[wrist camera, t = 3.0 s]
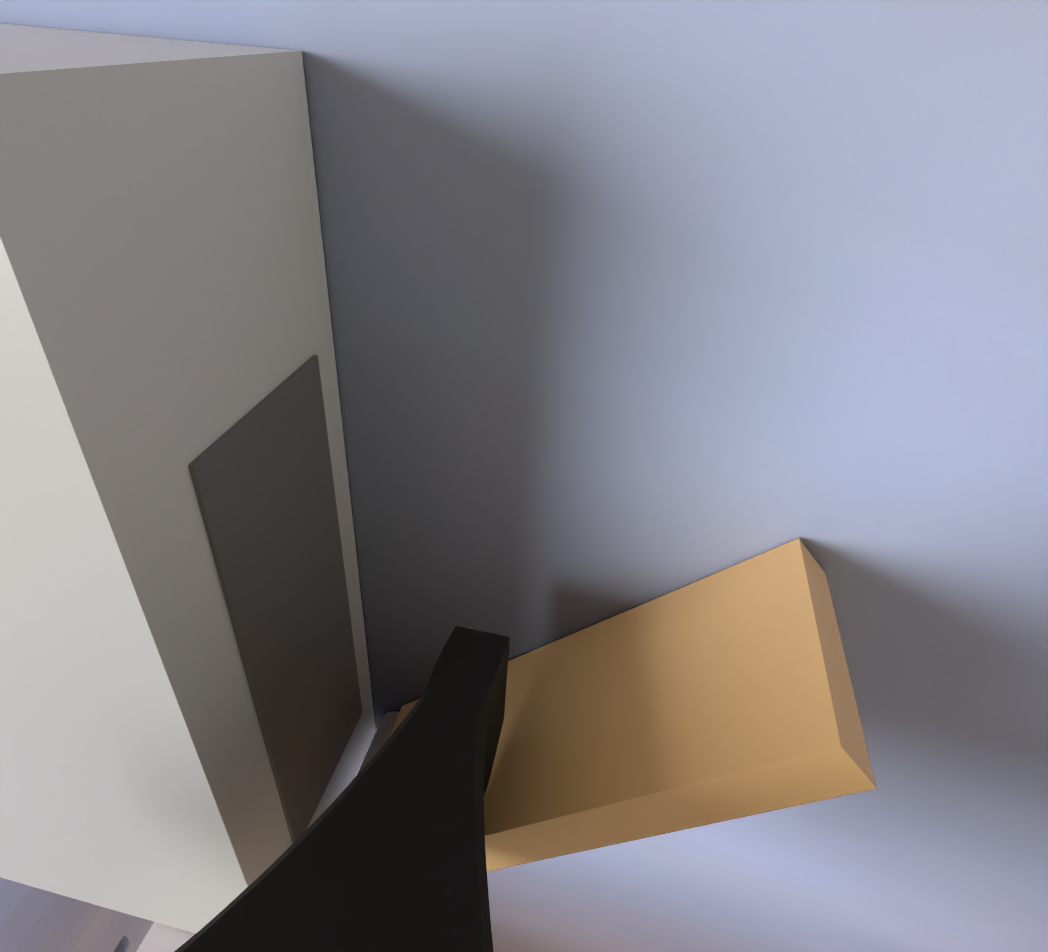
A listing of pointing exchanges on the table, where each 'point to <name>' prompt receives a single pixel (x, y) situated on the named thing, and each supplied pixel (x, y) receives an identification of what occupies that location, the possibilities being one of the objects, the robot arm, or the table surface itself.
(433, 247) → the table surface
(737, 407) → the table surface
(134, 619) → the white knobbed box
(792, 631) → the side door
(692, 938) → the table surface
